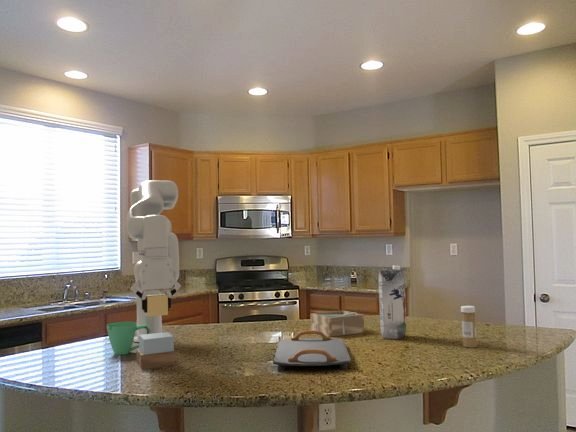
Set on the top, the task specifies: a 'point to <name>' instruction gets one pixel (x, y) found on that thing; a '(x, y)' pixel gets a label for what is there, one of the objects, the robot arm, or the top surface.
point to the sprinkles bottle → (468, 326)
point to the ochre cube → (157, 305)
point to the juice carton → (392, 303)
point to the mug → (123, 336)
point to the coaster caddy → (337, 323)
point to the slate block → (156, 343)
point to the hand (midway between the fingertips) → (156, 310)
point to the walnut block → (155, 359)
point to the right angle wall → (338, 316)
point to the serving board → (311, 351)
